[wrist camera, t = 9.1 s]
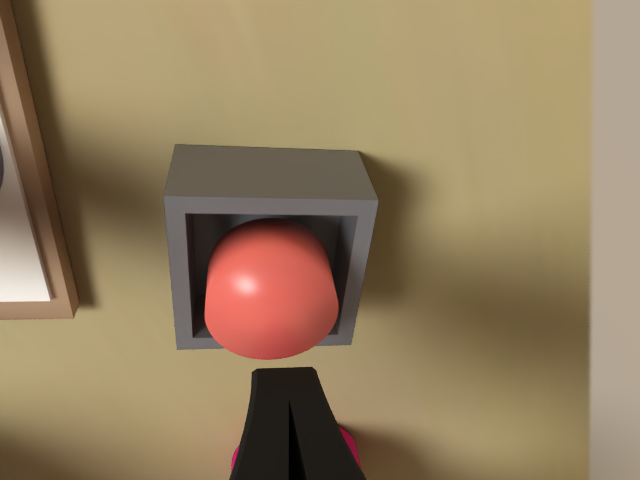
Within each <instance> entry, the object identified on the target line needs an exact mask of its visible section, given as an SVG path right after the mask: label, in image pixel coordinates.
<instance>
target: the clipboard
mask: <svg viewBox="0 0 640 480" xmlns="http://www.w3.org/2000/svg"><path fill="white" fill-rule="evenodd" d="M78 305H79V299H78V295H77V291H76V286H75V282H74V277H73V273H72V269H71V264H70V260H69V255H68V251H67V247H66V242H65V238H64V234H63V229H62V225H61V220H60V216H59V212H58V207H57V203H56V198H55V194H54V190H53V185H52V181H51V177H50V172H49V168H48V163H47V159H46V155H45V150H44V146H43V141H42V137H41V133H40V128H39V124H38V120H37V115H36V111H35V106H34V102H33V98H32V93H31V89H30V84H29V80H28V76H27V71H26V67H25V62H24V58H23V54H22V49H21V45H20V41H19V36H18V32H17V27H16V23H15V19H14V14H13V10H12V5H11V1H10V0H0V320H24V319H74V316H75V313H76V311H77V308H78Z"/></svg>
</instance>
